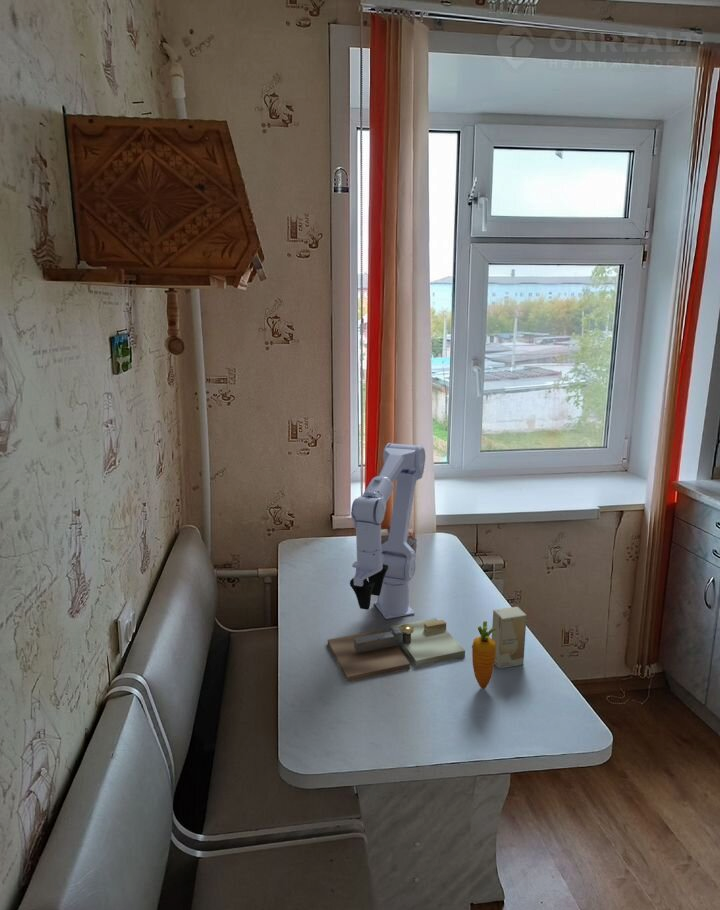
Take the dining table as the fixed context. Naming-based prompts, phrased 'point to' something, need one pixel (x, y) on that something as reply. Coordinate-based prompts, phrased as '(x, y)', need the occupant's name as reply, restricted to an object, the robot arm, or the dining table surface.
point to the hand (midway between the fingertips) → (370, 601)
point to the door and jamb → (397, 650)
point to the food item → (410, 539)
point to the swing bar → (382, 639)
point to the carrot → (483, 656)
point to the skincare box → (509, 636)
